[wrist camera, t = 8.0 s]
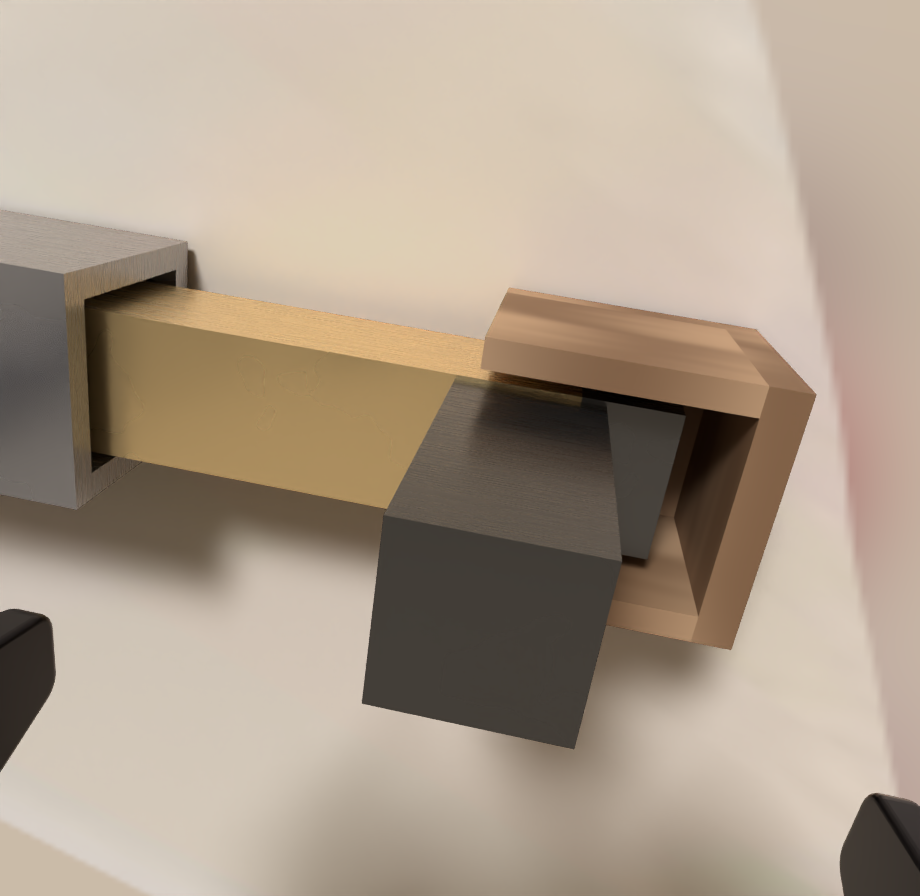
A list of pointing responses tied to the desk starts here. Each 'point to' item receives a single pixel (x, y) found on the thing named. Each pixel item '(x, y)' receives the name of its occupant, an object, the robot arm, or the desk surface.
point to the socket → (699, 450)
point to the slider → (407, 482)
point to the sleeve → (61, 348)
